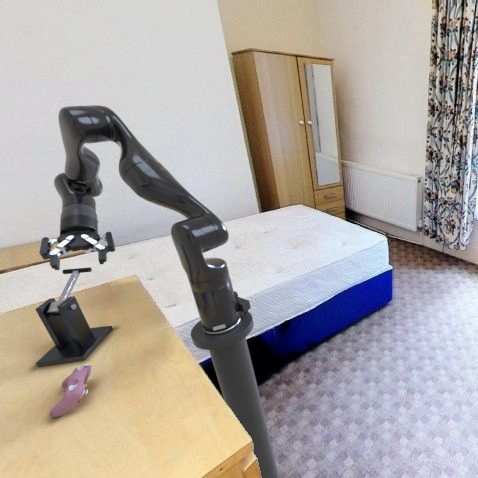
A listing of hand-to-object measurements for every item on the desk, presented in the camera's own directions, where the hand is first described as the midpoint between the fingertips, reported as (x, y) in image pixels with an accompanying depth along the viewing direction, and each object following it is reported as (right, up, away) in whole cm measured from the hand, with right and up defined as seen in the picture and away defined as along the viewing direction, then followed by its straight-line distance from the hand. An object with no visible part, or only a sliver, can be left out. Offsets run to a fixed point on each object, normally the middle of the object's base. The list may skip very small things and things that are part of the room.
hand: (79, 265), depth 87 cm
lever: (+4, -6, -6) cm, 9 cm away
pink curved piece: (+19, -27, -18) cm, 38 cm away
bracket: (+5, -21, -5) cm, 22 cm away
